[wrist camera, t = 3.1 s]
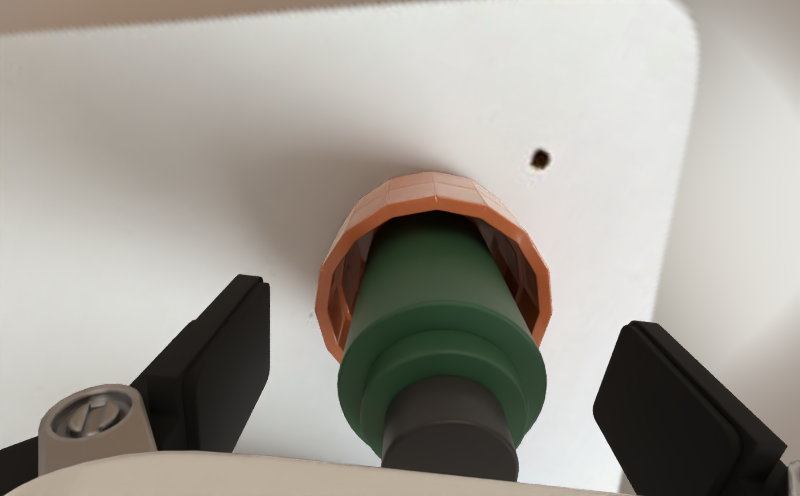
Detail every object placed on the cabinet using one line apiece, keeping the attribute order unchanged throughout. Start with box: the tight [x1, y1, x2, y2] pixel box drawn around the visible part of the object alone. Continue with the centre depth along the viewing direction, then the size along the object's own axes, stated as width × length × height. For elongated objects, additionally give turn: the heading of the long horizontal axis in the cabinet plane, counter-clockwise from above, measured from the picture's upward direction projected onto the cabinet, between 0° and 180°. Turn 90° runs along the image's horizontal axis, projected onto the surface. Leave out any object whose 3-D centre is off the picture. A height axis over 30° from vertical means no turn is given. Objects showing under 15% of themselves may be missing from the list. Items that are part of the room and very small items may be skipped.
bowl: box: [315, 171, 552, 365], centre depth 14 cm, size 7×7×4 cm
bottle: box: [337, 210, 547, 482], centre depth 11 cm, size 5×5×9 cm
